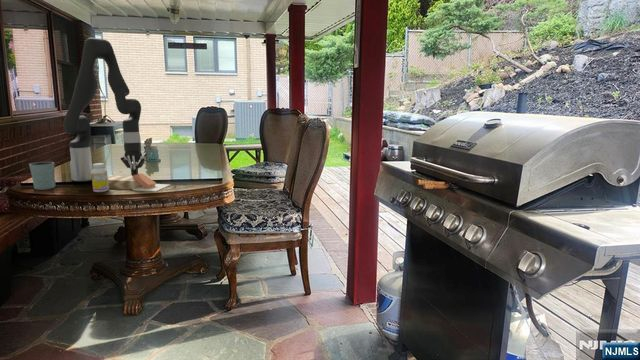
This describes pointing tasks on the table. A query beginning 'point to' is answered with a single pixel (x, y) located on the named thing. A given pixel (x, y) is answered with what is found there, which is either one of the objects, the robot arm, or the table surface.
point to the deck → (122, 182)
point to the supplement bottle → (99, 178)
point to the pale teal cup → (43, 175)
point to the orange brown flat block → (144, 180)
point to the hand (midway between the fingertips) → (135, 176)
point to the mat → (155, 188)
